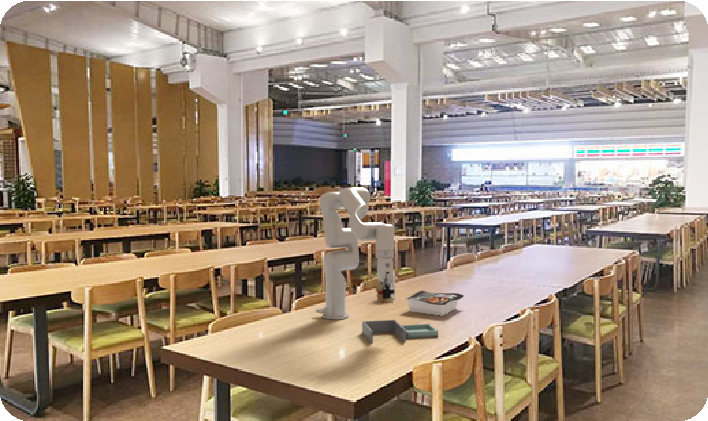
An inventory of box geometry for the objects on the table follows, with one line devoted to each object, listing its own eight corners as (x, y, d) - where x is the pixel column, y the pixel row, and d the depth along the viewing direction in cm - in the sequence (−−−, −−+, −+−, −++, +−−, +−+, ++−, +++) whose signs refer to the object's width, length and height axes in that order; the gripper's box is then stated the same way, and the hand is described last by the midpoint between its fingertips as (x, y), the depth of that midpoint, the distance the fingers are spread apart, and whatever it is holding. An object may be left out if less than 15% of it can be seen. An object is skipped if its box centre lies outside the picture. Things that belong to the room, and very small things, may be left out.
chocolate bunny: (386, 299, 237) (386, 275, 237) (394, 303, 230) (394, 279, 230) (374, 300, 235) (374, 276, 235) (382, 304, 228) (382, 279, 228)
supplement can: (382, 300, 305) (382, 273, 304) (378, 297, 313) (378, 270, 312) (396, 299, 307) (397, 272, 307) (391, 296, 315) (392, 270, 315)
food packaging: (445, 303, 266) (402, 297, 278) (445, 319, 266) (402, 312, 278) (464, 294, 287) (423, 289, 299) (463, 308, 288) (423, 303, 299)
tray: (407, 338, 233) (407, 332, 233) (399, 330, 244) (399, 325, 244) (438, 336, 236) (438, 330, 235) (429, 329, 247) (429, 323, 247)
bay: (370, 343, 225) (370, 331, 225) (362, 332, 241) (362, 321, 241) (405, 341, 228) (405, 329, 228) (395, 331, 244) (395, 319, 244)
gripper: (399, 256, 224) (398, 300, 225) (388, 251, 241) (387, 291, 242) (380, 257, 223) (380, 301, 224) (371, 251, 240) (370, 292, 241)
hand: (384, 296), depth 233 cm, fingers closed on chocolate bunny, 6 cm apart
